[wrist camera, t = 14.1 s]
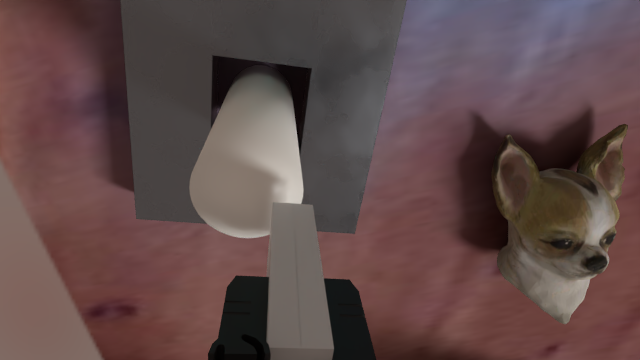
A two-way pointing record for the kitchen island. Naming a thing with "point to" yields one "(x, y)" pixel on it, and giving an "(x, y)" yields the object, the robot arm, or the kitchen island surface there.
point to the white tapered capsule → (249, 156)
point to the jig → (265, 46)
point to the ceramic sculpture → (558, 221)
